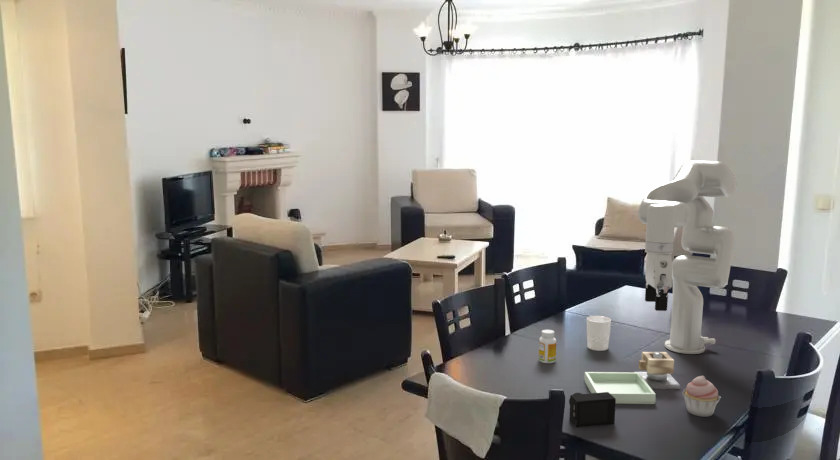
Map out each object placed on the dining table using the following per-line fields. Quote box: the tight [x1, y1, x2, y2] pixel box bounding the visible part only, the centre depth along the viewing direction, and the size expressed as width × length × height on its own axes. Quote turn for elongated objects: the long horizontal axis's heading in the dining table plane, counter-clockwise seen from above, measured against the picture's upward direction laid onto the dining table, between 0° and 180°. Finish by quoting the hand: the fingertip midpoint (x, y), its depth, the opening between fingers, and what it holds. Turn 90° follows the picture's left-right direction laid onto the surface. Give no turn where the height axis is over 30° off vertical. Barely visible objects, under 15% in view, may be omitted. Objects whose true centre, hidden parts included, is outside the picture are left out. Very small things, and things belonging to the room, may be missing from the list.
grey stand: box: [637, 351, 681, 390], centre depth 192 cm, size 10×10×9 cm
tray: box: [583, 371, 657, 405], centre depth 186 cm, size 16×16×3 cm
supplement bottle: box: [538, 329, 557, 364], centre depth 210 cm, size 5×5×10 cm
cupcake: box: [682, 375, 722, 418], centre depth 172 cm, size 9×9×10 cm
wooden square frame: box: [638, 351, 675, 375], centre depth 192 cm, size 9×7×4 cm
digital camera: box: [568, 392, 617, 428], centre depth 167 cm, size 10×5×7 cm, turn 100°
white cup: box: [586, 315, 612, 352], centre depth 222 cm, size 8×8×10 cm
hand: (655, 305), depth 190 cm, fingers open, 9 cm apart
